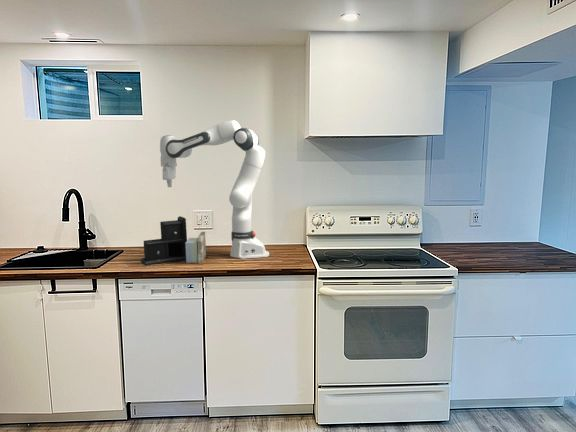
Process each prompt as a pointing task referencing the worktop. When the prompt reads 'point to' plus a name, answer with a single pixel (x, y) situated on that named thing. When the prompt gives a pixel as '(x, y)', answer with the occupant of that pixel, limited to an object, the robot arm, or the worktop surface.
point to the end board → (201, 247)
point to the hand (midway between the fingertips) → (169, 187)
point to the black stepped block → (167, 243)
